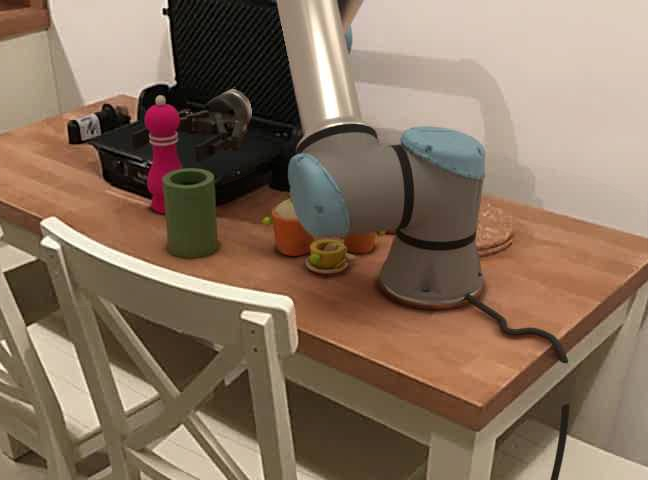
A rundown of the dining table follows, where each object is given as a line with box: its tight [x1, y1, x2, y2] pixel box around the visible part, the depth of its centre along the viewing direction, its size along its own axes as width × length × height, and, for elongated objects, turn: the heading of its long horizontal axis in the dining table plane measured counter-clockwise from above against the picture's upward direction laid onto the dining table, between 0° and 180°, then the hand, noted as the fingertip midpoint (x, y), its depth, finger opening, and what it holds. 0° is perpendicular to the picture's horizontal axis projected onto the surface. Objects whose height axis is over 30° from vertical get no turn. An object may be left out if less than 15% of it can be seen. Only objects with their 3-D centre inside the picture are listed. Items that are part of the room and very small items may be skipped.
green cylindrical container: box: [162, 167, 219, 259], centre depth 148 cm, size 8×8×12 cm
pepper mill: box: [144, 94, 184, 214], centre depth 160 cm, size 7×7×20 cm
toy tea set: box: [262, 195, 396, 274], centre depth 149 cm, size 26×16×10 cm, turn 137°
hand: (165, 148), depth 159 cm, fingers open, 13 cm apart
